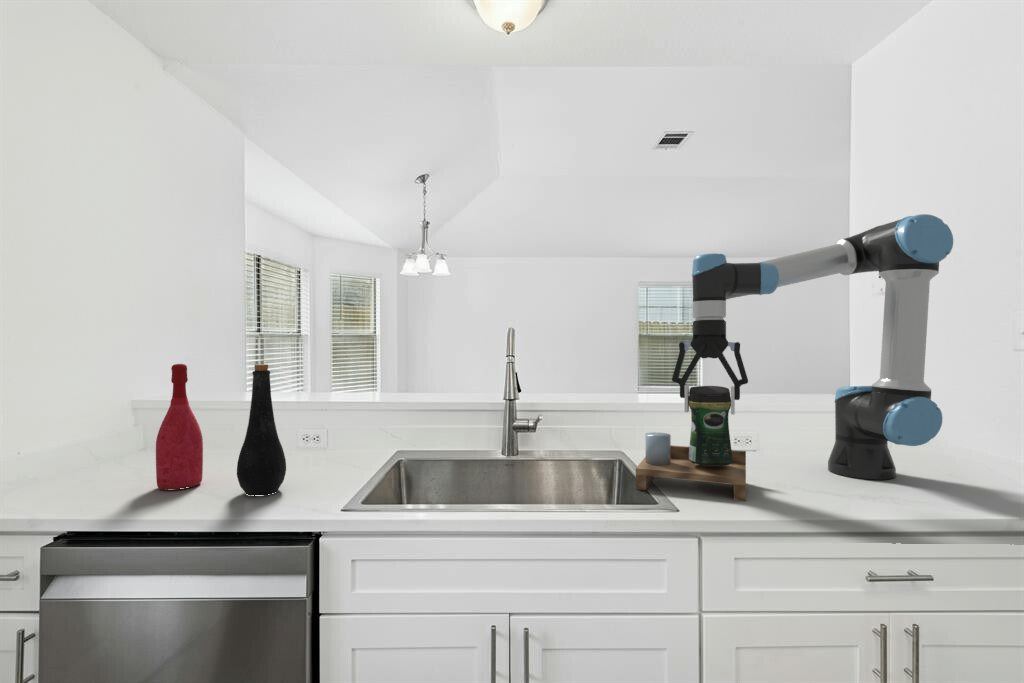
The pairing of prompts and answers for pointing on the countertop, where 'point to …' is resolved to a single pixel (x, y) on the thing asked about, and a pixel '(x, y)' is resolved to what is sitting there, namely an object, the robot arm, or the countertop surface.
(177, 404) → the wine bottle
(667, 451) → the grey blue cylinder
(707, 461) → the coffee jar
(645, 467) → the shelf
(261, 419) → the bottle
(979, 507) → the countertop surface
